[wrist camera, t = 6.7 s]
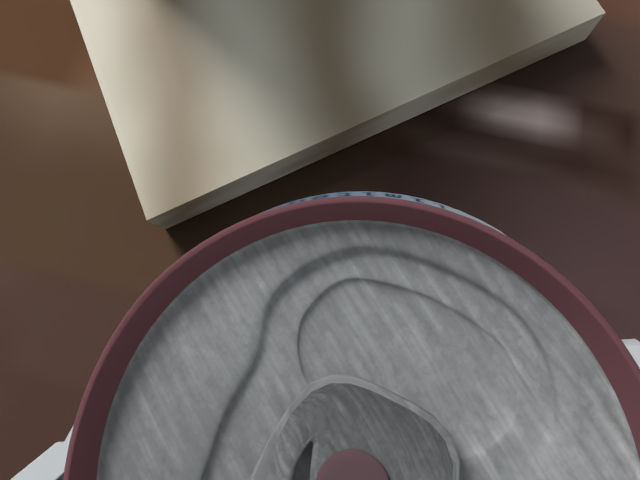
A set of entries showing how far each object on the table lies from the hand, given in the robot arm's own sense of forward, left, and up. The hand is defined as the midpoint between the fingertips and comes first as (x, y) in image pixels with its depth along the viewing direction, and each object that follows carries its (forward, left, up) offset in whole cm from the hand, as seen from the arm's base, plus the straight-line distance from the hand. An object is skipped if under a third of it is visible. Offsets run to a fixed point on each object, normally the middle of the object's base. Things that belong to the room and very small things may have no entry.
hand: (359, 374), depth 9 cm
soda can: (0, -1, -7) cm, 7 cm away
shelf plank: (+4, +15, -7) cm, 17 cm away
